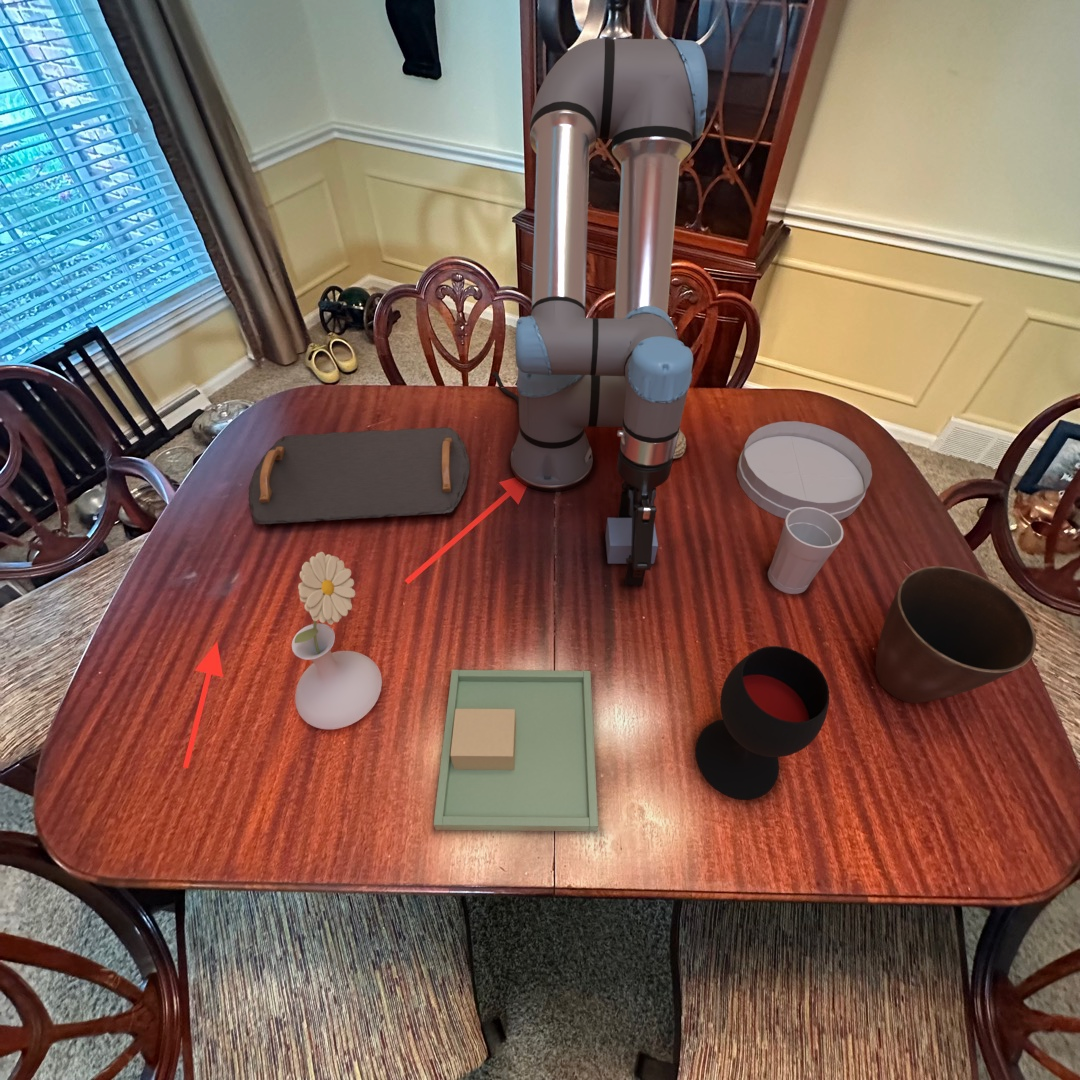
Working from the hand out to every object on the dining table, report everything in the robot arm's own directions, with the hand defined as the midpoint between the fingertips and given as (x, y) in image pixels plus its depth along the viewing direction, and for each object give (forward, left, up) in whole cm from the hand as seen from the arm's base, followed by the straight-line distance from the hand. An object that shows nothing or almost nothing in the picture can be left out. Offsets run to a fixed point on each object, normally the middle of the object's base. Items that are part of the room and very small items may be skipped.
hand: (629, 551), depth 99 cm
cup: (+19, +16, 0) cm, 25 cm away
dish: (+6, +36, 0) cm, 37 cm away
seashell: (-15, +23, 0) cm, 27 cm away
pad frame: (+15, -34, 0) cm, 37 cm away
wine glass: (+33, -13, 0) cm, 36 cm away
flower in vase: (-6, -48, 0) cm, 48 cm away
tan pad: (+13, -37, 0) cm, 39 cm away
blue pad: (0, 0, 0) cm, 0 cm away
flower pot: (+40, +14, 0) cm, 43 cm away
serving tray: (-42, -27, 0) cm, 49 cm away
